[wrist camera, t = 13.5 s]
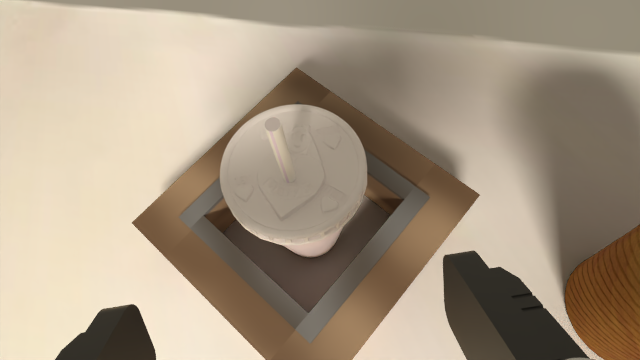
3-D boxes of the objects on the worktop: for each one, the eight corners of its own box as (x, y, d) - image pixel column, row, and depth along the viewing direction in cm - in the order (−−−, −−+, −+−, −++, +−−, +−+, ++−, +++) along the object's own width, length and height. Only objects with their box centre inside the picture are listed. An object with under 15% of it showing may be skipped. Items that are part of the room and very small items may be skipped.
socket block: (301, 97, 30) (295, 64, 26) (462, 214, 26) (481, 193, 22) (158, 238, 26) (129, 221, 23) (318, 399, 22) (313, 409, 18)
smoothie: (251, 270, 25) (150, 186, 12) (273, 177, 27) (209, 24, 14) (353, 287, 24) (362, 218, 11) (366, 190, 27) (386, 41, 14)
